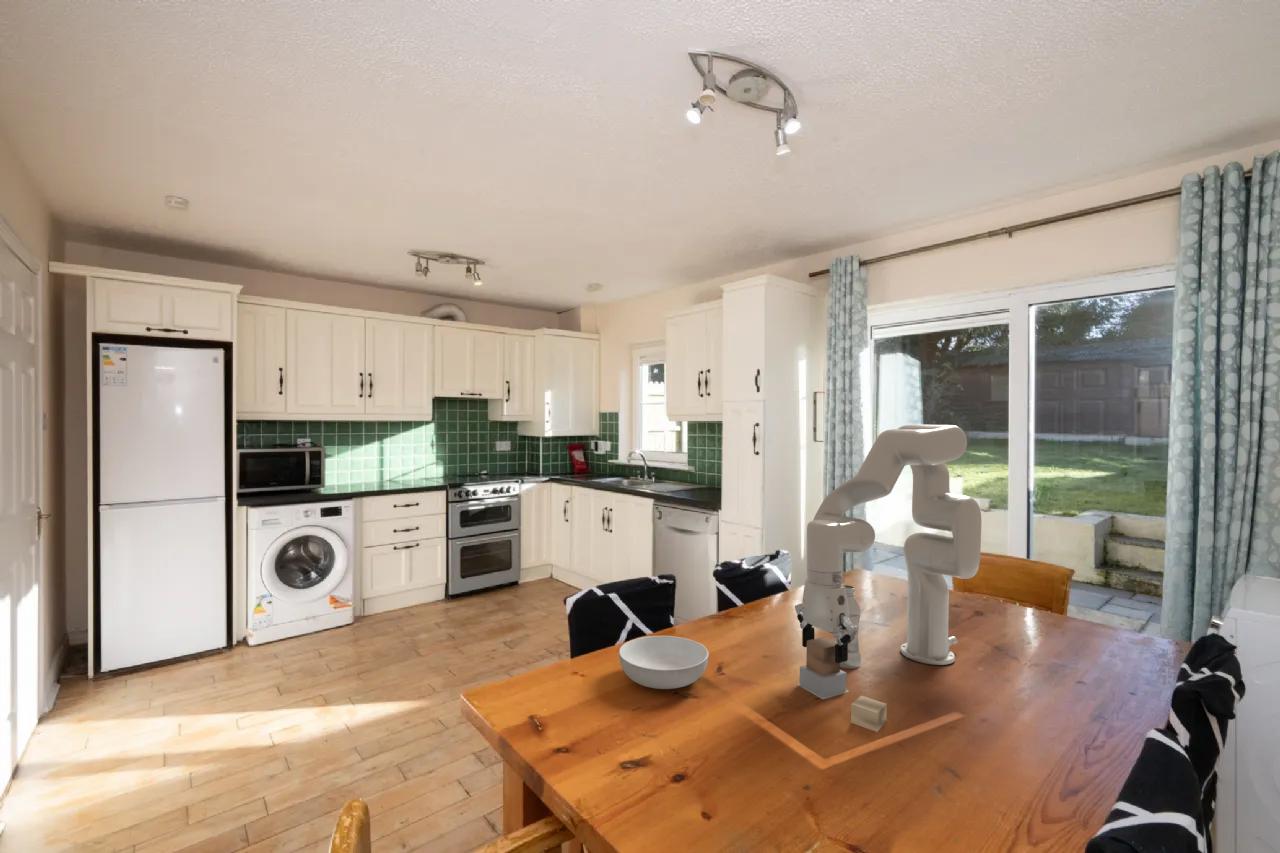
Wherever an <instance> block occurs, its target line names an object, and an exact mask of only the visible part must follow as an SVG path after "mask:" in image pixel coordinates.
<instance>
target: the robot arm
mask: <svg viewBox="0 0 1280 853" xmlns="http://www.w3.org/2000/svg"><path fill="white" fill-rule="evenodd" d="M967 447H968V438H967V435H966V433H965V431H964V430H963V429H962V428H961V427H959V426H957V425H955V424H954V425H953V424H906V425H903V426H899V427H898V428H896V429H894V428H893V429H887V430H884V431H882V432H881V433H880V434H879V435H877V437H876V439H875V441H874V443H873V445H872V447H871V448H870V450H869V452H868V454H867V455H866V457H865V459H864V461H863V463H862V464H861V466H860V468H859V470H858V471H857V473H856V475H855V476H853V477H851V478H850V479H848V480H846V481H844V482H843V483H842V484H840V485H838V486H837V487H836V488H835V489H833V490H832V491H830V492H829V494H828V495H826V496H825V498H824V499H823V501H822V502H821V504H820V506H819V508H818V510H817V511H816V513H815V515H814V517H813V520H811V521H809V522H808V523H807V525H806V579H805V581H804V582H805V583H804V586H803V591H802V592H803V593H802V594H803V595H802V603H798V604H795V605H794V609H795V612H796V618H797V620H798V621H799V624H800V625H799V627H800V628H801V634H802V635H801V638H802V639H801V640H802V642H801V643H802V644H801V645H802V647H803V648H807V641H808V640H812V639H815V627H816V628H817V629H820V630H823V631H824V632H826V633H827V632H828V634H829V633H830V634H832V635H833V637H834V638H835V639H836V641H837V643H838V644H835V662H836V663H841V662H845V661H847V660H848V643H850V642H851V641H852V640H853V639H854V636H855V635H856V633H857V630H858V631H859V629H857V627H856V626H855V625H854V624H853V623H852V622H851V621H850V620H849V605H848V597H847V592H846V588H845V586H844V585H845V584H844V583H845V577H843V554H844V553H863V552H865V551H867V550H869V549H870V548H871V547H872V546H873V545H874V542H875V539H876V533H875V529H874V527H873V526H872V525H871V523H869V522H868V521H867V520H864V519H861V518H856V517H850V516H845V514H846V513H847V512H848V511H849V510H850V509H852V508H854V507H856V506H859V505H861V504H864V503H868V502H872V501H876V500H878V499H882V498H884V497H887V496H888V495H890V494H891V493H892V491H893V489H894V487H895V485H896V483H897V481H898V479H899V477H900V476H901V474H902V472H903V470H904V468H905V467H906V466H910V469H911V473H912V494H911V496H912V497H911V498H912V501H911V515H912V519H913V521H914V523H915V524H916V525H918V526H920V527H923V528H927V529H930V530H931V529H932V530H938V531H943V532H948V533H951V534H952V537H951V536H946V535H944V534H943V535H942V534H936V533H930V532H915V533H912V534H911V535H909V536H908V537H907V538H906V540H905V541H904V544H903V545H904V546H903V555H904V560H905V566H906V572H907V575H906V576H907V610H906V611H907V612H906V613H907V614H906V615H907V618H906V620H907V621H906V622H907V623H906V627H907V629H906V630H907V631H906V642H905V643H902V644H901V645H900V649H899V650H900V653H901V654H902V656H904V657H906V658H908V659H909V660H912V661H915V662H918V663H922V664H925V665H934V666H945V665H950V664H952V663H954V662H955V660H956V658H955V653H953V651H951V650H950V647H951V646H953V645H956V644H957V643H958V642H959V641H958V638H957V637H956V636H954V635H953V636H949V607H950V606H949V602H950V601H949V599H950V598H949V597H950V592H949V587H948V583H947V582H946V579H945V577H944V576H945V575H946V576H948V577H953V578H958V579H962V580H963V579H965V580H966V579H971V578H973V577H974V576H975V575H976V574H977V573H978V571H979V568H980V565H981V564H980V562H981V549H982V548H981V547H982V545H981V544H982V512H981V508H980V505H979V503H978V502H977V501H976V500H975V499H974V498H973V497H971V496H969V495H964V494H957V493H951V490H950V472H949V469H948V467H947V464H946V463H949V462H953V461H956V460H958V459H959V458H961V457H962V456H963V455H964V453H965V452H966V449H967ZM837 628H839V629H837ZM846 630H847V632H846ZM839 633H841V635H842V638H841V637H840V635H839Z"/></svg>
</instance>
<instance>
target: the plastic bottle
mask: <svg viewBox="0 0 1280 853" xmlns="http://www.w3.org/2000/svg"><path fill="white" fill-rule="evenodd" d="M843 585H844V586H845V588H846V592H847V597H848V605H849V620H850V621H851V622H852V623H853V624H854V625H855V626H856V627H857V629H858V630H857V633H856V635H855V636H854V639H853V640H852V641H851V642H850V643H848V660H847V661H845V662H841V663H840V668H842V669H843V668H844V669H848V670H849V669H858V668H860V666H861V661H862V657H861V651H860V644H859V629H860V628H859V627H860V626H859V625H860V618H861V613H862V611H861V610H862V609H861V606H860V604H859V602H858V600H856V598H855V596H856V588H855V586H853V585H850V584H849V585H848V584H843ZM837 629H839V628H837ZM846 632H847V630H846ZM839 635H840V637H841V638H842V635H841V633H839ZM833 642H835V643H837V641H836V639H835V637H834V640H833Z"/></svg>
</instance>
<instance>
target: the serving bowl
mask: <svg viewBox="0 0 1280 853" xmlns="http://www.w3.org/2000/svg"><path fill="white" fill-rule="evenodd" d="M709 655H710V653H709V650H708V649H707V647H706V646H704V644H702V643H700V642H697V641H695V640H693V639H689V638H686V637H682V636H681V637H680V636H673V635H648V636H641V637H637V638H635V639H631V640H629V641H627V642H625V643H623V644H622V645H621V646H620V648H619V649H618V656H619V657H618V658H619V662H620V665H621V668H622V670H623V672H624V673H625V674H626V675H627V677H628V678H629V679H631V681H633V682H634V683H637V684H639V685H641V686H644V687H646V688H650V689H651V688H652V689H658V690H673V689H679V688H683V687H686V686H689V685H691V684H693V683H694V682H696V681H697V680H698V679H700V678H701V677H702V675H703V674H704V673H705V670H706V669H707V666H708V662H709Z"/></svg>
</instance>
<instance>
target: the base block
mask: <svg viewBox="0 0 1280 853" xmlns="http://www.w3.org/2000/svg"><path fill="white" fill-rule="evenodd" d="M847 675H848V674H847V672H846V671H844V670H842V669H840V672H837V673H834V674H830V675H826V676H822V675H820V674H818V673H816V672H814V671H812V670H810V669H808V668H806V665H805V664H804V665H801V666H799V683H800V685H801V686H803V687H805V688H807V689H808V690H810V691H812V692H814V693H815V694H817V695H819V696H821V697H822V698H824V697H828V696H831V695H834V694H838V693H841V692H844V691H846V690H847V682H848V680H847V677H848V676H847Z"/></svg>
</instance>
